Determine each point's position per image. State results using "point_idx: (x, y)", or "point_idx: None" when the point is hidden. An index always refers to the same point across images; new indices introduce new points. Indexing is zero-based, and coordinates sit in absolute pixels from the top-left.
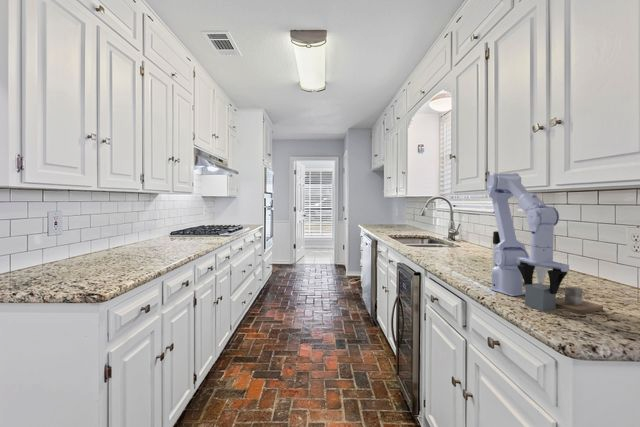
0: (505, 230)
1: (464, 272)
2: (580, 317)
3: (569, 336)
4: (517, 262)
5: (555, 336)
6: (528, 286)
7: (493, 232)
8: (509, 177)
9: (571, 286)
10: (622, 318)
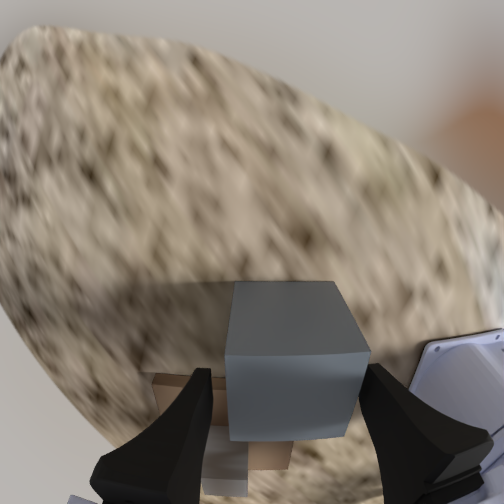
0: None
1: None
2: (130, 343)
3: (20, 100)
4: (500, 468)
5: (37, 51)
6: (346, 349)
7: None
8: None
9: (243, 494)
10: (109, 425)
